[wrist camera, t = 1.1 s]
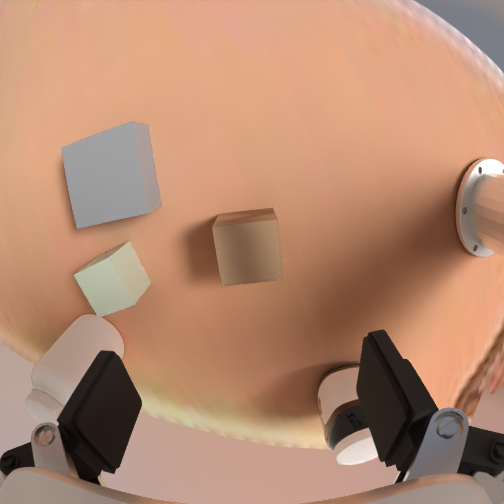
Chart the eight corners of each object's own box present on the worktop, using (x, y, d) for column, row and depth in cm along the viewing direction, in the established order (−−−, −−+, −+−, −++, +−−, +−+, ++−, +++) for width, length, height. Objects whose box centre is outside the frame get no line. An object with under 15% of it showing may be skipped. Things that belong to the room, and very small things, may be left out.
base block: (149, 125, 23) (133, 121, 19) (162, 205, 26) (148, 213, 22) (83, 147, 24) (61, 148, 20) (96, 219, 26) (76, 229, 22)
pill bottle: (124, 320, 30) (66, 412, 16) (128, 367, 33) (87, 453, 18) (71, 304, 30) (4, 377, 15) (79, 351, 32) (30, 424, 18)
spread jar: (320, 360, 32) (341, 435, 21) (400, 349, 32) (437, 410, 21) (311, 416, 36) (322, 480, 25) (379, 405, 36) (401, 461, 25)
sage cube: (130, 240, 27) (108, 257, 22) (151, 282, 28) (134, 305, 24) (96, 257, 27) (73, 275, 23) (117, 295, 29) (98, 318, 24)
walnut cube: (272, 207, 26) (277, 219, 21) (277, 257, 27) (282, 279, 23) (219, 213, 26) (211, 227, 21) (226, 263, 28) (221, 286, 23)
